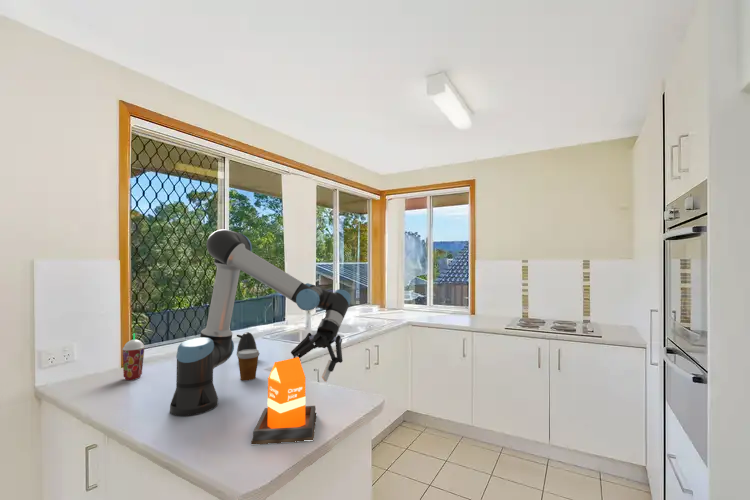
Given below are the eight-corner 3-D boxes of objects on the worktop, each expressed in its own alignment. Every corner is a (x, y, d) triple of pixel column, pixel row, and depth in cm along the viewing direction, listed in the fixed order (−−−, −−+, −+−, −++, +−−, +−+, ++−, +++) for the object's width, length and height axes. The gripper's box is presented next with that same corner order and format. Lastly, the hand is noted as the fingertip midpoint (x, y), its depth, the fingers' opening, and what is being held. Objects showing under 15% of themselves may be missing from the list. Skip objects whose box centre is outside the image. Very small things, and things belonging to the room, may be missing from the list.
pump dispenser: (235, 360, 187) (235, 331, 188) (255, 357, 191) (256, 330, 192) (236, 364, 178) (237, 334, 178) (257, 362, 182) (258, 333, 183)
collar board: (251, 445, 97) (251, 432, 97) (263, 418, 114) (263, 407, 114) (313, 441, 99) (313, 428, 99) (316, 415, 116) (316, 405, 116)
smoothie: (148, 375, 160) (149, 331, 161) (134, 381, 152) (135, 335, 153) (131, 375, 161) (132, 331, 162) (116, 380, 153) (118, 335, 154)
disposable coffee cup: (244, 383, 149) (244, 355, 150) (232, 379, 155) (232, 352, 155) (263, 377, 156) (263, 350, 157) (251, 373, 162) (251, 348, 163)
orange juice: (267, 426, 107) (267, 360, 108) (292, 417, 113) (292, 354, 114) (280, 434, 101) (281, 364, 102) (305, 424, 107) (306, 359, 108)
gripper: (362, 333, 129) (343, 387, 114) (306, 328, 139) (281, 378, 124) (356, 321, 124) (335, 375, 110) (298, 317, 134) (272, 366, 120)
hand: (306, 377), depth 117 cm, fingers open, 13 cm apart
